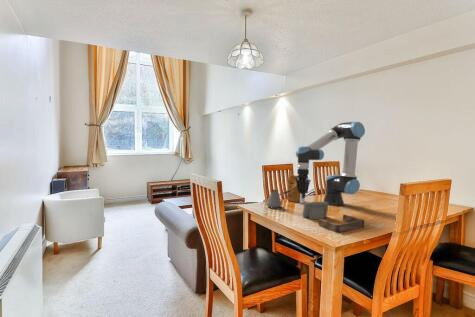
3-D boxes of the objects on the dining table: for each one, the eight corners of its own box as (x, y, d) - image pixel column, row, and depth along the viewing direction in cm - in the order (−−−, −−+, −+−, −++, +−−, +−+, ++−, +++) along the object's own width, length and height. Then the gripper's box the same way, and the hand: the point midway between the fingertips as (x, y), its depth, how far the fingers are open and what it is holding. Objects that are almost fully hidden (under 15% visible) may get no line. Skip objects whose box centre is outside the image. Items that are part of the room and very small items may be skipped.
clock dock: (318, 225, 150) (318, 219, 150) (344, 220, 161) (344, 214, 160) (337, 233, 138) (337, 225, 138) (364, 226, 149) (364, 220, 149)
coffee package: (291, 198, 225) (292, 173, 223) (304, 201, 216) (304, 175, 214) (284, 200, 218) (285, 174, 216) (297, 203, 209) (297, 176, 207)
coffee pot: (263, 207, 195) (263, 187, 194) (272, 204, 203) (272, 185, 202) (287, 212, 180) (287, 191, 179) (296, 209, 188) (296, 189, 187)
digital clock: (326, 216, 171) (327, 200, 171) (329, 220, 162) (330, 203, 162) (301, 215, 173) (302, 199, 173) (303, 219, 164) (303, 202, 164)
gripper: (292, 168, 181) (291, 201, 182) (305, 169, 169) (304, 205, 170) (300, 167, 184) (299, 200, 185) (314, 169, 173) (312, 204, 174)
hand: (302, 202), depth 178 cm, fingers closed
